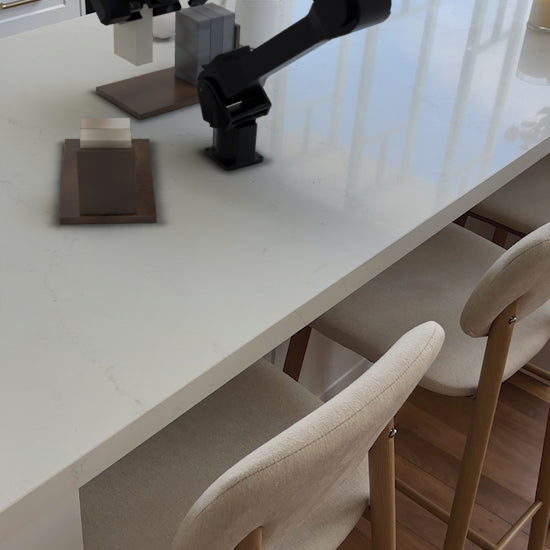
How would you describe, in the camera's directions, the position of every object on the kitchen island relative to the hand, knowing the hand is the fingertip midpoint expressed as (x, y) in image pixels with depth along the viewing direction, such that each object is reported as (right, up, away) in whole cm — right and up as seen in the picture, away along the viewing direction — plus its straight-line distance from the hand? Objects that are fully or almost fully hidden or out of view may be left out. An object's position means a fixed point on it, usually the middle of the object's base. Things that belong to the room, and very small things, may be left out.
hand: (127, 19), depth 134 cm
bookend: (+6, -8, +11) cm, 15 cm away
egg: (+2, +5, +30) cm, 30 cm away
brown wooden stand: (0, -26, -14) cm, 30 cm away
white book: (0, -5, +2) cm, 6 cm away
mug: (+17, +5, +33) cm, 37 cm away
